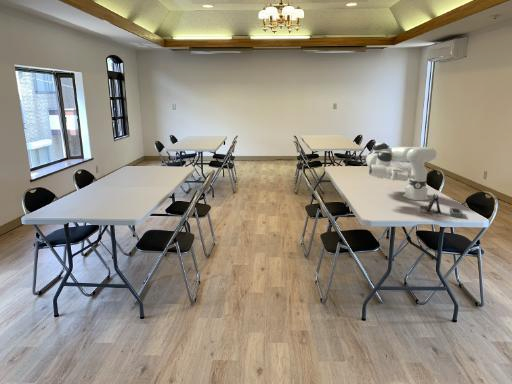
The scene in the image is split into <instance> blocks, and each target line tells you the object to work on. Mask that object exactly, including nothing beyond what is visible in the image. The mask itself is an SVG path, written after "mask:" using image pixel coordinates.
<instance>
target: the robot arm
mask: <svg viewBox="0 0 512 384" xmlns="http://www.w3.org/2000/svg"><path fill="white" fill-rule="evenodd" d="M372 151H373V152H372V153H369V154H367V156H366V158H365V163H366V165H367V167H369V170H368V174H369V176H371V177H375V178H378V179H386V180H390V181H395V182H396V181H401V182H408V180H409V182H408V185H407V186H406V187H405V192H404V193H403V194H402V197H403V198H406V199H409V200H412V201H428V200H430V198H429V197H428V188H427V182H428V181H427V177H428V170H427V168H426V167H425V163H427V162H431V161H434V160H435V159H436V158H437V150H436V149H435V148H433V147H430V146H394V147H390V145H388V144H387V143H386V142H379V141H378V142H376V143H374V145H372ZM392 161H398V162H409V163H410V166H411V169H410V170H411V171H410V172H411V173H409V171H408V170H403V169H398V167H396V166H391V163H392Z"/></svg>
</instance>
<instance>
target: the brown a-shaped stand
mask: <svg viewBox="0 0 512 384" xmlns="http://www.w3.org/2000/svg"><path fill="white" fill-rule="evenodd" d="M434 203H436V210H434V209H433V210H432V207H433V205H434ZM427 206H428V207H427V208H426V209H425V212H433V214H435V213H436V214H437V215H441V214H442V212H441V206H440V203H439V195H438V194H437V193H436V194H435V193H434V194H433V195H432V199H431V200H430V202H429V204H428V205H427Z"/></svg>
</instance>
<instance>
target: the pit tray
mask: <svg viewBox="0 0 512 384" xmlns="http://www.w3.org/2000/svg"><path fill="white" fill-rule="evenodd" d="M448 213H449V214H450V216H451V218H455V219H463V217H464V213H463V210H462V209H461V208H457V207H456V208H455V207H449V212H448Z"/></svg>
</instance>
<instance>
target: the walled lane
mask: <svg viewBox="0 0 512 384" xmlns="http://www.w3.org/2000/svg"><path fill="white" fill-rule="evenodd" d="M427 207H428V205H427V206H426V205H419V209H422V210H421V211H420V215H425V214H426V215H428V216H433V214H434V213H433V212H426V208H427ZM423 209H424V210H425V211H424V210H423Z"/></svg>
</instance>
